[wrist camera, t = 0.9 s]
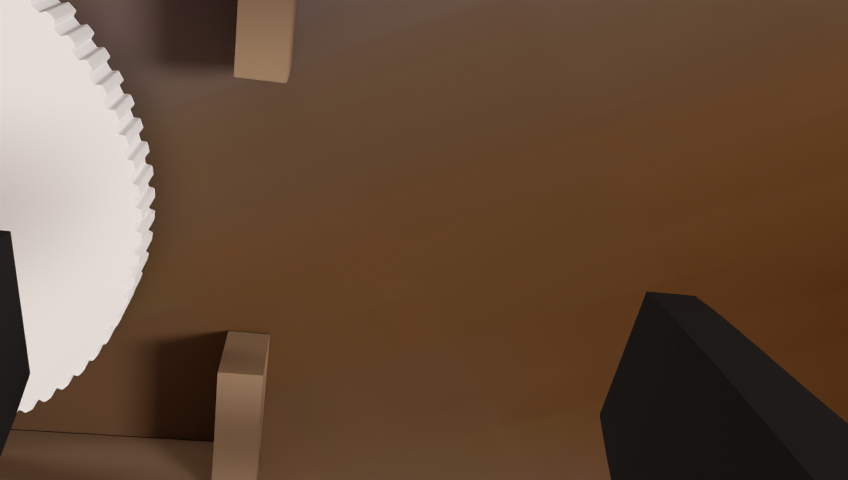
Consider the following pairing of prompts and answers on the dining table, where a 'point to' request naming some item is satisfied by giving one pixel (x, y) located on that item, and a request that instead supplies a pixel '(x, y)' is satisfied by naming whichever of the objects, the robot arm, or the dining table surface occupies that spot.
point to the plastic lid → (68, 189)
